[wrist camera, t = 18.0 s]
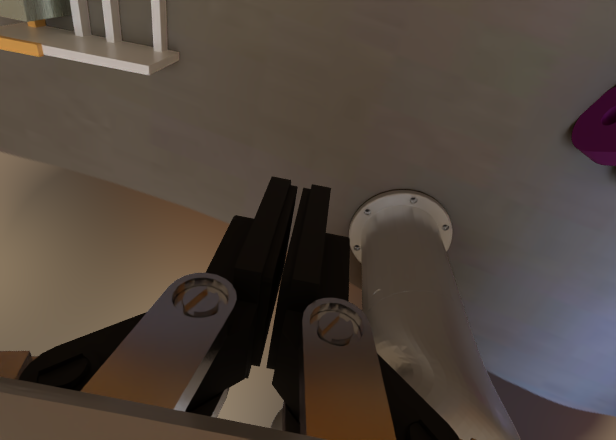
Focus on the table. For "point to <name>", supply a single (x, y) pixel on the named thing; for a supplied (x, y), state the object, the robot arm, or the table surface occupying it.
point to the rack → (94, 40)
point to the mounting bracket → (598, 130)
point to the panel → (34, 9)
